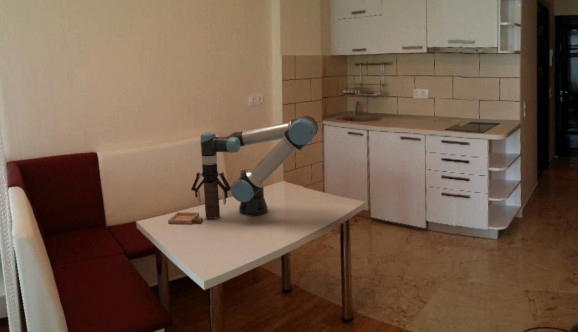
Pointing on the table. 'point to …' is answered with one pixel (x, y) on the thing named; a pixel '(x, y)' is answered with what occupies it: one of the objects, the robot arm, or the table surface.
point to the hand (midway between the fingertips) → (211, 203)
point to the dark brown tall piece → (211, 199)
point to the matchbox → (197, 220)
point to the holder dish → (183, 218)
